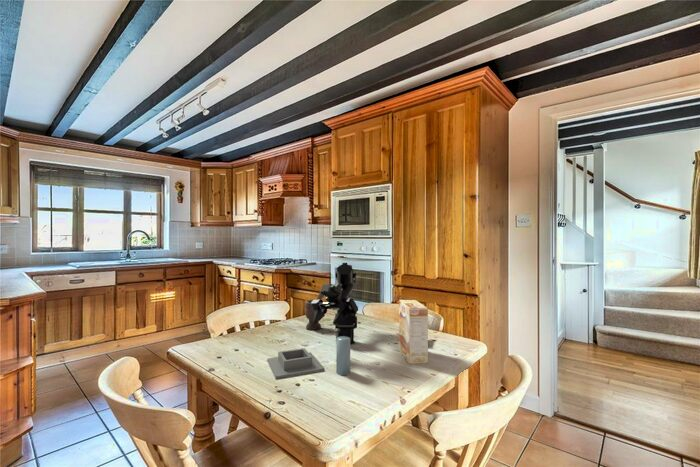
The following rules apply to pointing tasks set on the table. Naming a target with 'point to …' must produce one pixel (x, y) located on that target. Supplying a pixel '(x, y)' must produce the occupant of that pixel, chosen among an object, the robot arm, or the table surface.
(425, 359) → the coffeecake box
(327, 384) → the table surface
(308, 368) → the grey square socket base
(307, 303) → the mortar and pestle
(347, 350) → the pale blue rounded cylinder
